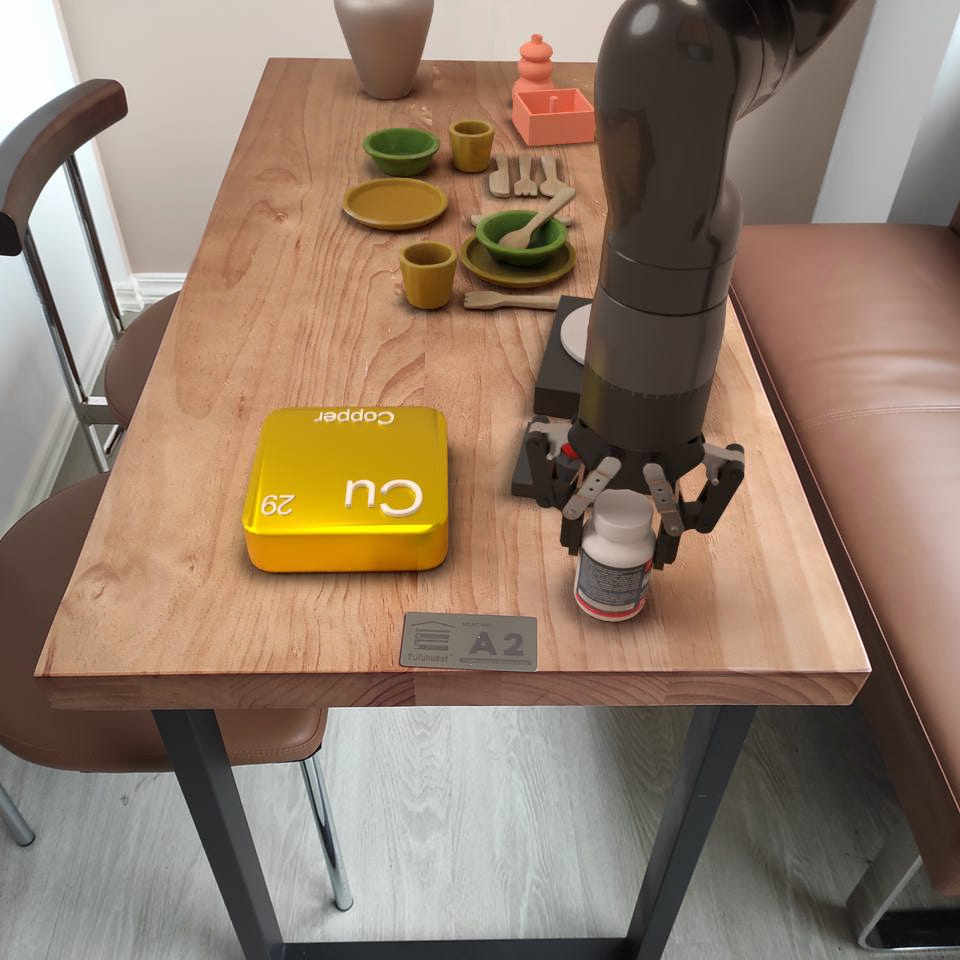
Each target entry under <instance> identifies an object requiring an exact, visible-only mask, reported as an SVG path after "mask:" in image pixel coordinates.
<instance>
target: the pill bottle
mask: <svg viewBox="0 0 960 960" xmlns="http://www.w3.org/2000/svg"><path fill="white" fill-rule="evenodd" d="M653 517H654V507H653V503H652V502H651V501H650V499H649V498H648V497H647V496H646V495H645V494H639V493H637V492H634V491H631V490H628V489H626V490H613V489H608V490H605V491H603V492H602V493H600V494H599V495H598V497H597V498H596V499H595V502H594V506H593V507H592V511H591V516H589V517H588V518H587V519H586V520H585V522H583V527H582V532H581V539H580V547H579V553H578V556H577V557H578V558H577V564H576V570H575V577H574V584H573V595H574V598H575V601H576V603H577V604H578V606H579V607H580V608H581V609H582V611H583V612H585V613H586V614H588V615H589V616H591V617H592V618H595V619H597V620H601V621H604V622H605V621H606V622H623V621H627V620H629V619H631V618H633V617H635V616H636V615H637V614H639V612H640V611H642V609H643V608H644V606H645V603H646V600H647V596H648V595H647V594H648V590H649V584H650V580H651V576H652V575H651V574H652V570H653V561H654V556H655V552H656V546H657V534H656V531H655V529H654V527H653V526H652V525H653Z"/></svg>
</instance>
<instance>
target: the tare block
mask: <svg viewBox="0 0 960 960" xmlns="http://www.w3.org/2000/svg"><path fill="white" fill-rule="evenodd" d="M530 425H531V421H528V422H527V425H526V429H525V432H524V436H523V440H522V443H521V446H520V450H519V453H518V457H517V461H516V465H515V468H514V471H513V475H512V479H511V483H510V494H511V495H514V496H521V497H527V498H531V499H532V498H534V499H536V497H535V492H534V487H533V481H532V476H531V471H530V466H529V461H528V456H527V451H526V446H525V443H526V439H527V436H528V432H529V429H530ZM556 460H557V466H558V472H559V478H560V480H561V481H563V482H566V483H568V484H570V482H571V481H572V480H573V478H574V477H575V475H576V474H577V473H578V471H579V469H580V467H581V464H582V462H581V460H579V459H572V458H571V457H569V456H567V455H565V454H564V452H563V451H562V448H561V452H560V454H559V455H558V456H557V457H556ZM605 490H608V489H606V488H604V489H603V490H602V491H601V493H602V492H603V491H605ZM594 502H595V501H594ZM594 502H593V503H591V502H590V503H589V505H588V506H587V507H590V508H593V506H594Z"/></svg>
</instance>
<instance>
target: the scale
mask: <svg viewBox="0 0 960 960" xmlns="http://www.w3.org/2000/svg"><path fill="white" fill-rule="evenodd" d="M559 297H560V301H559V304H558V308H557V310H556V311H555V314H554V319H553V322H552V325H551V329H550V333H549V336H548V340H547V343H546V347H545V351H544V354H543V357H542V361H541V364H540V368H539V372H538V375H537V378H536V382H535V385H534V395H533V409H532V413H533V414H536V415H544V416H549V417H557V418H563V419H571V420H572V419H573V417H574V416H575V415H576V414H577V413H578V411H579V403H580V395H581V386H582V377H583V369H584V360H585V351H586V342H587V328H588V324H589V317H590V310H591V305H592V301H593V298H590V297H581V296H573V295H566V294H561V295H560V296H559Z"/></svg>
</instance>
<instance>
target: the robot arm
mask: <svg viewBox="0 0 960 960" xmlns="http://www.w3.org/2000/svg"><path fill="white" fill-rule="evenodd" d="M859 2H860V0H624V1H623V2H622V4H621V5H620V6H619V7H618V9H617V10H616V12H615V13H614V15H613V16H612V18H611V20H610V22H609V23H608V26H607V28H606V31H605V33H604V36H603V39H602V41H601V45H600V47H599V52H598V56H597V60H596V66H595V72H594V81H593V82H594V83H593V107H594V115H595V124H596V125H595V132H596V140H597V148H598V156H599V163H600V174H601V180H602V185H603V190H604V194H605V199H606V200H605V201H606V207H607V211H606V215H605V221H604V227H603V228H604V229H603V236H602V244H601V251H600V252H601V254H600V260H599V269H598V276H597V277H598V278H597V284H596V286H595V287H596V288H595V291H594V294H593V296H592V297H593V298H592V299H593V301H592V305H591V310H590V317H589V324H588V328H587V342H586V351H585V360H584V369H583V377H582V386H581V395H580V403H579V411H578V413H577V414H576V415H575V416H574V417H573V419H571V420H570V421H569V422H570V423H569V422H559V423H558V422H555V423H554V422H553V423H551V420H550V419H549V418H548V417H547V415H543V414H536V415H534V416H533V417H532V419H531V421H530V422H531V425H530V429H529V432H528V436H527V439H526V443H525V446H526V451H527V456H528V461H529V466H530V471H531V476H532V481H533V487H534V492H535V497H536V498H535V502H536V504H537V505H538V506H539V507H540V508H542V509H551V508H552V507H553V508H555V509H556V510H558V511H559V512H560V513H561V526H560V535H559V543H560V546H561V547H562V548H567V549H568V550H567V551H568V552H567V555H568V556H572V557H578V556H579V548H580V539H581V532H582V527H583V525H584V520H585V514H586V509H587V508H588V507H589V506H588V505H589V503H590V502H591V503H593V502H594V501H595V499H596V498H597V497H598V495H599V494H600V493H601V491H602V490H603V489H604V488H606V489H613V490H626V489H628V490H631V491H634V492H637V493H639V494H643V495H644V496H646V495H647V496H651V498H652V499H653V502H654V506H655V509H656V512H657V513H658V514H660V521H659V525H658V530H657V534H656V538H657V546H656V552H655V556H654V561H653V566H652V570H656V571H660V572H661V571H664V567H665V565H670V566H672V565H673V564H674V562H676V559H677V556H678V550H679V547H680V542H681V538H682V535H683V534H684V533H685V532H687V531H690V530H695V531H696V532H697V533H699V534H702V535H705V534H710V533H711V532H712V533H713V531H714V529H715V527H716V526H717V524H718V523H719V521H720V519H721V518H722V516H723V514H724V512H725V511H726V509H727V507H728V506H729V504H730V503H731V501H732V499H733V497H734V496H735V495H736V492H737V491H738V489H739V487H740V486H741V484H742V482H743V480H744V479H745V469H746V468H745V467H746V458H745V448H744V446H743V445H742V444H740V443H730V444H728V445H726V446H725V448H724V447H720V446H718V445H714V444H711V443H707V442H706V437H705V435H704V433H703V431H702V430H703V426H704V421H705V417H706V414H707V413H706V412H707V409H708V403H709V399H710V397H711V396H710V395H711V391H712V387H713V382H714V378H715V374H716V369H717V365H718V360H719V356H720V352H721V350H722V343H723V339H724V334H725V329H726V328H725V327H726V319H727V302H728V297H729V290H730V286H731V281H732V277H733V273H734V268H735V263H736V259H737V254H738V250H739V247H740V242H741V237H742V231H743V226H744V213H745V211H744V199H743V195H742V192H741V191H740V188H739V187H738V185H737V184H736V182H734V180H733V179H731V178H730V177H729V176H728V175H727V174H726V172H727V161H728V155H729V148H730V143H731V140H732V135H733V132H734V129H735V127H736V123H737V122H738V121H740V120H742V119H743V118H745V117H746V116H747V115H748V114H751V113H752V112H753V111H755V110H756V109H759V108H760V107H761V106H762V105H764V104H765V103H766V102H768V101H769V100H771V98H773V97H774V96H776V95H777V93H779V92H780V90H782V89H783V88H784V87H785V86H786V85H787V84H788V83H789V82H790V81H791V80H792V79H793V78H794V77H795V76H796V75H797V74H798V73H799V72H800V71H801V70H802V69H803V68H804V66H806V65H807V63H808V62H809V61H810V60H811V59H812V58H813V56H815V54H816V53H817V52H818V51H819V50H820V49H821V47H822V46H823V45H824V44H825V43H826V42H827V40H829V38H830V37H831V36H832V35H833V33H834V32H835V31H836V30H837V29H838V27H839V26H840V25H841V23H842V22H843V21H844V20H845V18H846V17H847V16H848V15H849V13H850V12H851V11H852V10H853V8H854V7H855V6H856V5H857V4H858V3H859ZM566 443H569V445H570V446H571V448H572V449H573V451H574V452H575V453H576V455H577V456H578V457H579V459H580V460H581V462H582V464H581V467H580V469H579V471H578V473H577V474H576V475H575V477H574V478H573V480H572V481H571V482H570V484H568V483H566V482H563V481H561V480H560V478H559V472H558V466H557V460H556V457H557V456H558V455H559V454H560V452H561V448H562V446H563V445H564V444H566ZM700 464H702V465H704V466H705V477H706V479H707V480H706V482H705V484H704V486H703V487H702V489H701V491H700V492H699V494H698V496H697V498H696V500H693V501H686V500H685V497H684V493H683V490H682V487H681V479H682V478H683V477H684V476H686V475H687V474H688V473H689V472H691V471H692V470H694V469H695V468H697V467H698V466H699V465H700Z"/></svg>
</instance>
